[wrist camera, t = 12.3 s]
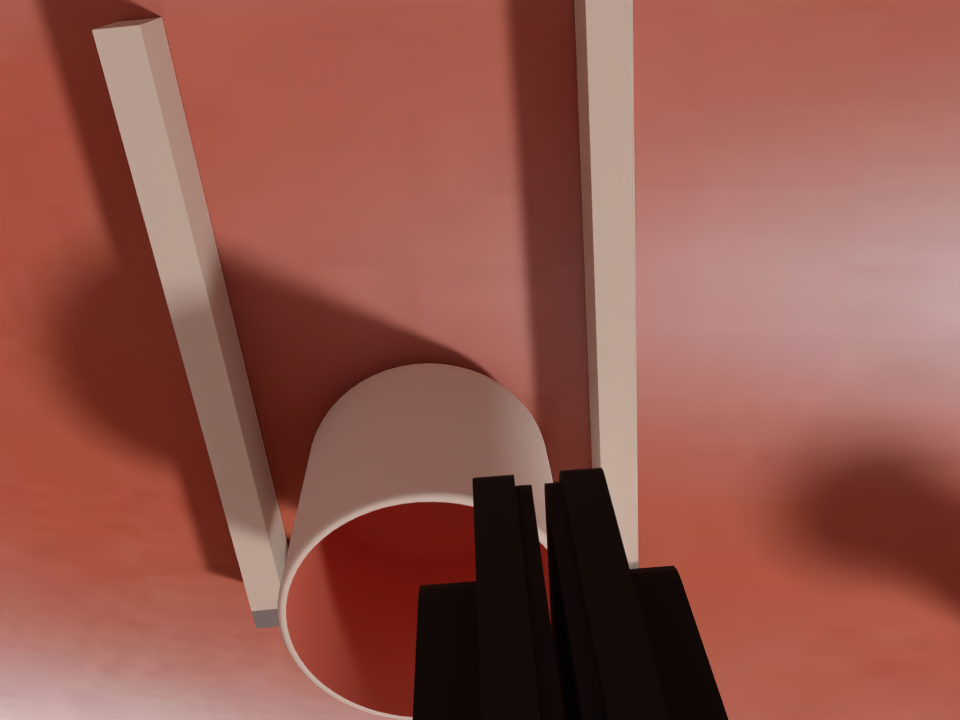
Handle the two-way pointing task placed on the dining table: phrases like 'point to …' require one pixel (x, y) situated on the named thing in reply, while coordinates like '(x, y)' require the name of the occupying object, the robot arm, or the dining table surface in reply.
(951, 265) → the dining table surface
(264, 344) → the dining table surface
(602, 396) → the cup pocket
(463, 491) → the cup
